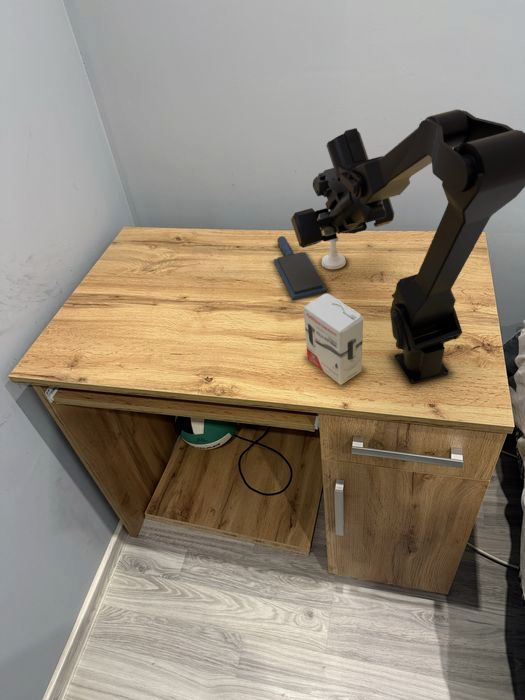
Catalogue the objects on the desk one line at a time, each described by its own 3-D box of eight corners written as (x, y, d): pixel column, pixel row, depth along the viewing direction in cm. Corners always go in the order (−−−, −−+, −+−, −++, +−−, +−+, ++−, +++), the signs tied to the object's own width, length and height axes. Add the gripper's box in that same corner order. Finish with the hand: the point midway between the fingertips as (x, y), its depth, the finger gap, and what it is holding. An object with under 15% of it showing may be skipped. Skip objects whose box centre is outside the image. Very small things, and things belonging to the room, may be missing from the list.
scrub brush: (327, 292, 97) (326, 283, 96) (292, 300, 96) (291, 292, 95) (295, 239, 112) (295, 231, 111) (265, 245, 111) (265, 238, 110)
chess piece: (331, 253, 106) (331, 210, 100) (350, 261, 104) (350, 217, 97) (316, 264, 104) (314, 221, 97) (335, 272, 101) (334, 228, 94)
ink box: (305, 359, 85) (301, 304, 76) (327, 345, 86) (326, 290, 78) (340, 386, 79) (340, 331, 71) (362, 371, 81) (365, 315, 73)
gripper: (390, 146, 87) (360, 182, 102) (290, 172, 84) (274, 205, 99) (410, 207, 86) (376, 234, 102) (311, 235, 83) (291, 258, 99)
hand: (330, 231), depth 100 cm, fingers closed on chess piece
